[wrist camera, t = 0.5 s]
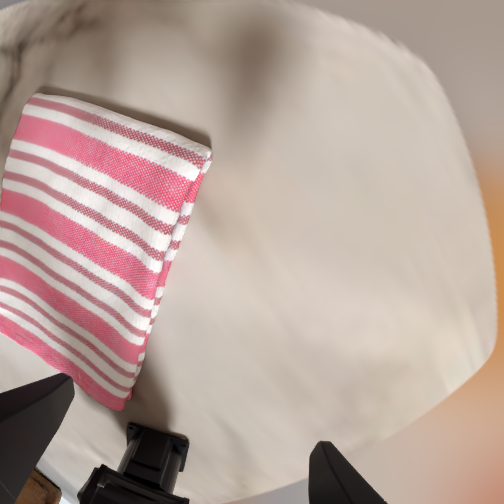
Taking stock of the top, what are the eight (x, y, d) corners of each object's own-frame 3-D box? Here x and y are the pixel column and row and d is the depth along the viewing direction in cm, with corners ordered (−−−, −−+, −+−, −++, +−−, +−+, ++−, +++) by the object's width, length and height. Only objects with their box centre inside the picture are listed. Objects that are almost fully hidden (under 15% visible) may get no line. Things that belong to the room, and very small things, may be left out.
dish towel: (6, 318, 22) (-14, 331, 19) (45, 92, 17) (19, 84, 13) (134, 399, 23) (121, 423, 20) (223, 147, 18) (215, 139, 14)
